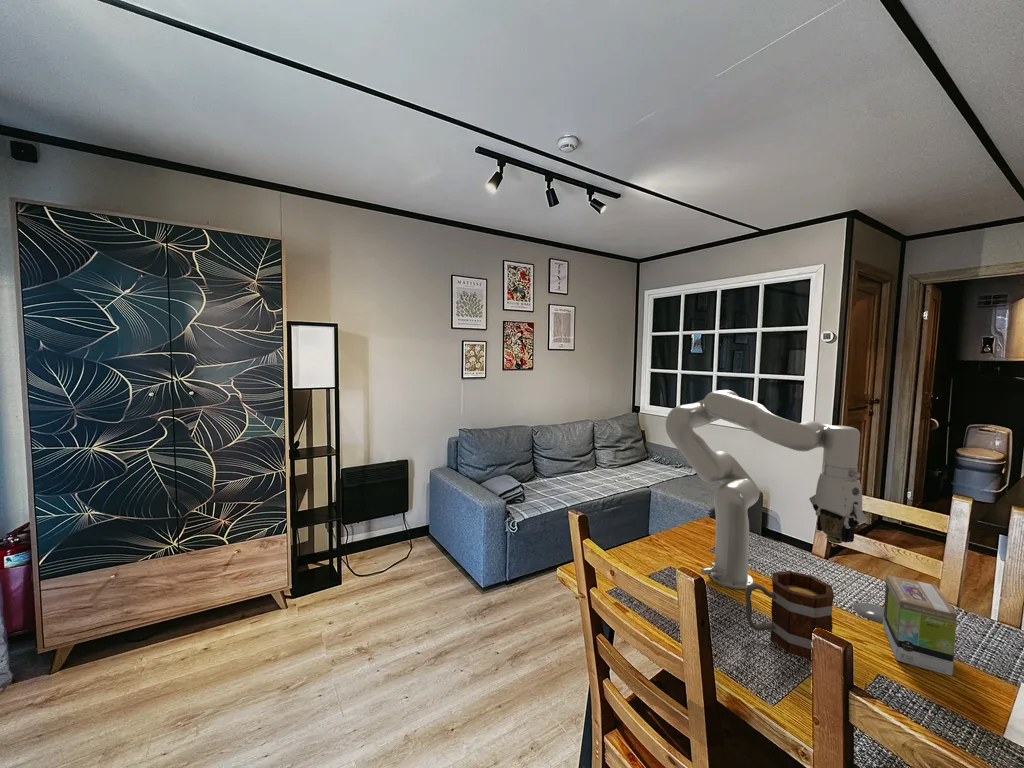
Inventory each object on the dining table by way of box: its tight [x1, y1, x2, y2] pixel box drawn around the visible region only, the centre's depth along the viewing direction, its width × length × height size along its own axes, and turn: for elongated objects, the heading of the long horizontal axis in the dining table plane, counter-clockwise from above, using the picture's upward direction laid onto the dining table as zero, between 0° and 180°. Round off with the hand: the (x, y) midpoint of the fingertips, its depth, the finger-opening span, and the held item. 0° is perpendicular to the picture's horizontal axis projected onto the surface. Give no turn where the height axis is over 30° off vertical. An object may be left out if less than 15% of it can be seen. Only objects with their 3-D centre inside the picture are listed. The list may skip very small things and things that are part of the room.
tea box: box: [882, 574, 958, 677], centre depth 103 cm, size 15×10×15 cm, turn 148°
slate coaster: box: [852, 602, 884, 624], centre depth 118 cm, size 10×10×1 cm
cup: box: [820, 509, 852, 544], centre depth 116 cm, size 8×7×8 cm
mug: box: [744, 570, 835, 661], centre depth 106 cm, size 20×14×15 cm
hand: (834, 535), depth 116 cm, fingers closed on cup, 6 cm apart
